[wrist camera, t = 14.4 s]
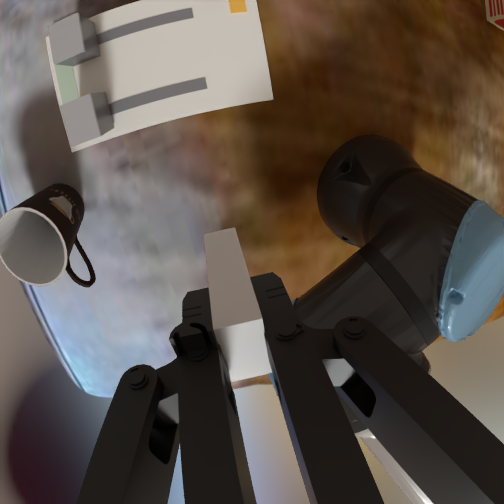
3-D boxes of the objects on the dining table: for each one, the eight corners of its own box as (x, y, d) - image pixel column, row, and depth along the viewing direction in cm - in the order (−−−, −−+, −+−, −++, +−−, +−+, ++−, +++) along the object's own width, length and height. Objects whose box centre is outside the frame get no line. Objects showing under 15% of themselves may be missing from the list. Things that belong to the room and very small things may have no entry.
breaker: (105, 91, 25) (89, 93, 20) (114, 127, 27) (100, 136, 22) (79, 101, 24) (59, 106, 20) (88, 137, 27) (70, 147, 22)
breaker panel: (248, -14, 23) (252, -20, 21) (268, 98, 31) (274, 99, 29) (52, 39, 21) (44, 37, 20) (77, 148, 29) (71, 153, 27)
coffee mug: (23, 188, 29) (-17, 224, 21) (78, 164, 30) (44, 194, 21) (58, 265, 35) (34, 314, 27) (111, 249, 36) (95, 298, 28)
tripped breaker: (94, 22, 20) (78, 12, 16) (100, 55, 23) (84, 50, 18) (68, 33, 20) (47, 26, 16) (74, 66, 22) (53, 64, 18)
